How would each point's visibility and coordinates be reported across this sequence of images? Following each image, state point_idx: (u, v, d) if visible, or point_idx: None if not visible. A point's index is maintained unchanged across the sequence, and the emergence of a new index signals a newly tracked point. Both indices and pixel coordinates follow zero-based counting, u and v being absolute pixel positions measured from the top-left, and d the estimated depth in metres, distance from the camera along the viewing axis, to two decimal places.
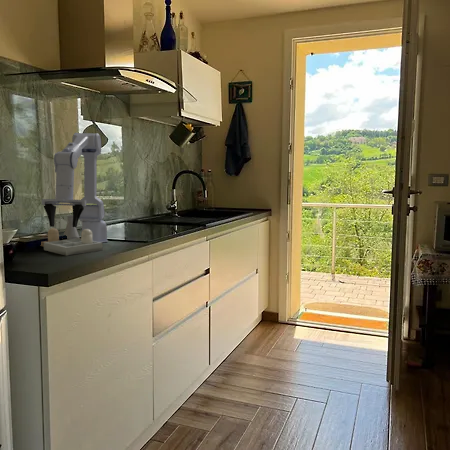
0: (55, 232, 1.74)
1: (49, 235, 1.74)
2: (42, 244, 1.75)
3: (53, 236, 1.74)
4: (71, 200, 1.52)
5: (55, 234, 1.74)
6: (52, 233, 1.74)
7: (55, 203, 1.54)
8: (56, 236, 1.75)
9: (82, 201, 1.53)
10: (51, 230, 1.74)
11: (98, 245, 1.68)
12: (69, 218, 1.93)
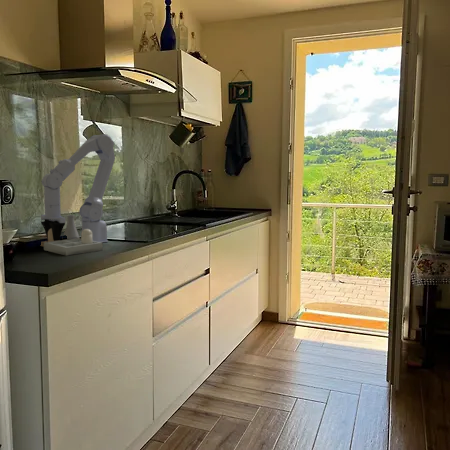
0: None
1: (49, 235, 1.74)
2: (42, 244, 1.75)
3: None
4: (52, 218, 1.71)
5: None
6: None
7: (49, 218, 1.77)
8: None
9: (59, 219, 1.70)
10: (51, 230, 1.74)
11: (98, 245, 1.68)
12: (69, 218, 1.93)
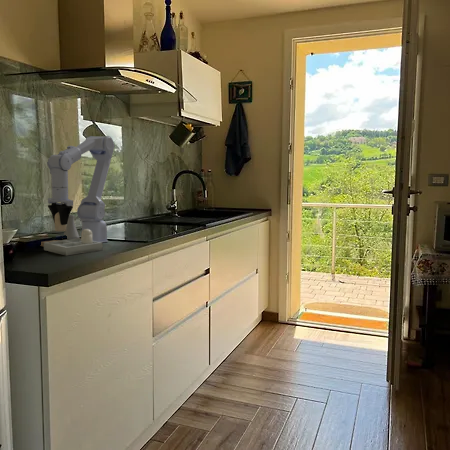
0: None
1: (56, 219, 1.67)
2: (42, 244, 1.75)
3: None
4: (59, 201, 1.64)
5: None
6: (59, 217, 1.67)
7: (56, 202, 1.70)
8: None
9: (67, 202, 1.63)
10: (58, 214, 1.67)
11: (98, 245, 1.68)
12: (69, 218, 1.93)
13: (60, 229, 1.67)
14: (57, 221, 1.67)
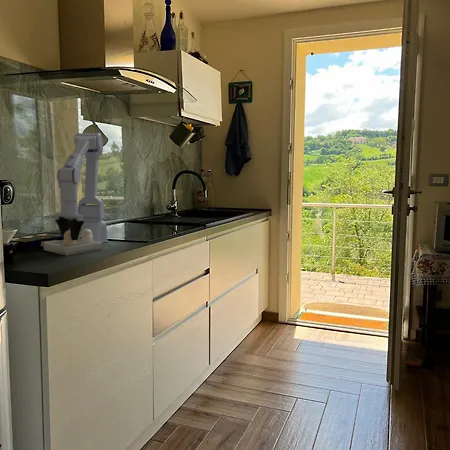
0: None
1: (65, 238, 1.61)
2: (42, 244, 1.75)
3: (69, 239, 1.61)
4: (69, 215, 1.58)
5: None
6: (68, 236, 1.61)
7: (65, 216, 1.64)
8: None
9: (77, 216, 1.57)
10: (67, 233, 1.61)
11: (98, 245, 1.68)
12: None
13: None
14: (66, 240, 1.61)
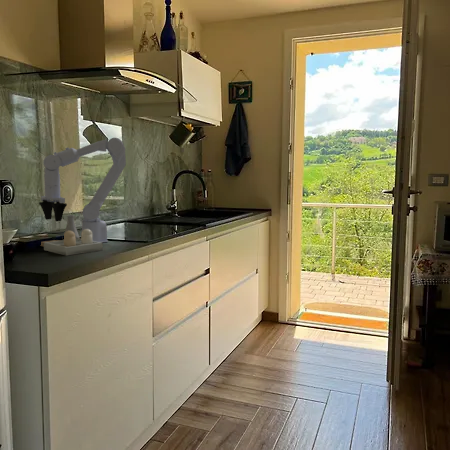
0: (72, 235, 1.62)
1: (65, 238, 1.61)
2: (42, 244, 1.75)
3: (70, 239, 1.61)
4: (52, 198, 1.76)
5: (71, 237, 1.61)
6: (68, 236, 1.61)
7: (49, 199, 1.82)
8: (73, 239, 1.62)
9: (59, 199, 1.75)
10: (67, 233, 1.61)
11: (98, 245, 1.68)
12: (69, 218, 1.93)
13: None
14: (66, 240, 1.61)
